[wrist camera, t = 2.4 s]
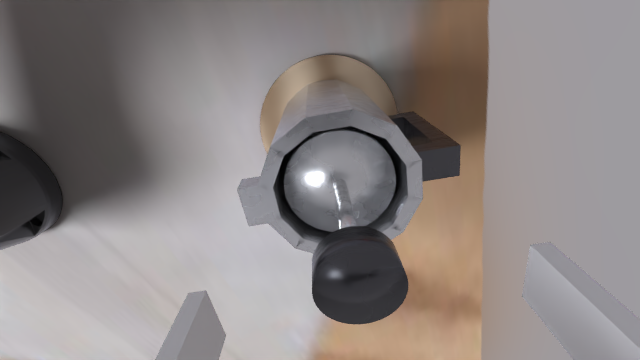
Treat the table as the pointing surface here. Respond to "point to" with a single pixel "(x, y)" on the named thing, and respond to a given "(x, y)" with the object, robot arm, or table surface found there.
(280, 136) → the carafe
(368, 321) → the plunger
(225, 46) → the table surface
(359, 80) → the trivet
